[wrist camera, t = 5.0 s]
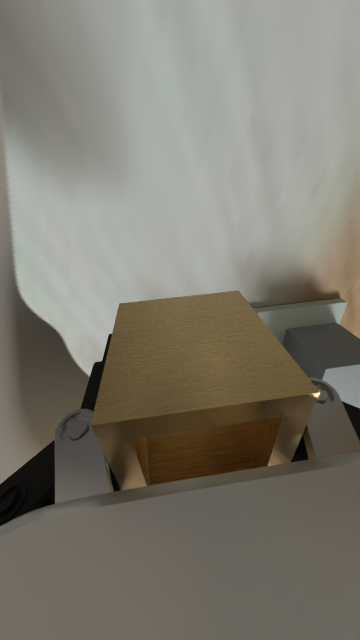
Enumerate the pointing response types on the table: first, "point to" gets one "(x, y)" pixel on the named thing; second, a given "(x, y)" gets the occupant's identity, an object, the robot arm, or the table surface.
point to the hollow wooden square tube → (197, 391)
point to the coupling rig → (319, 343)
